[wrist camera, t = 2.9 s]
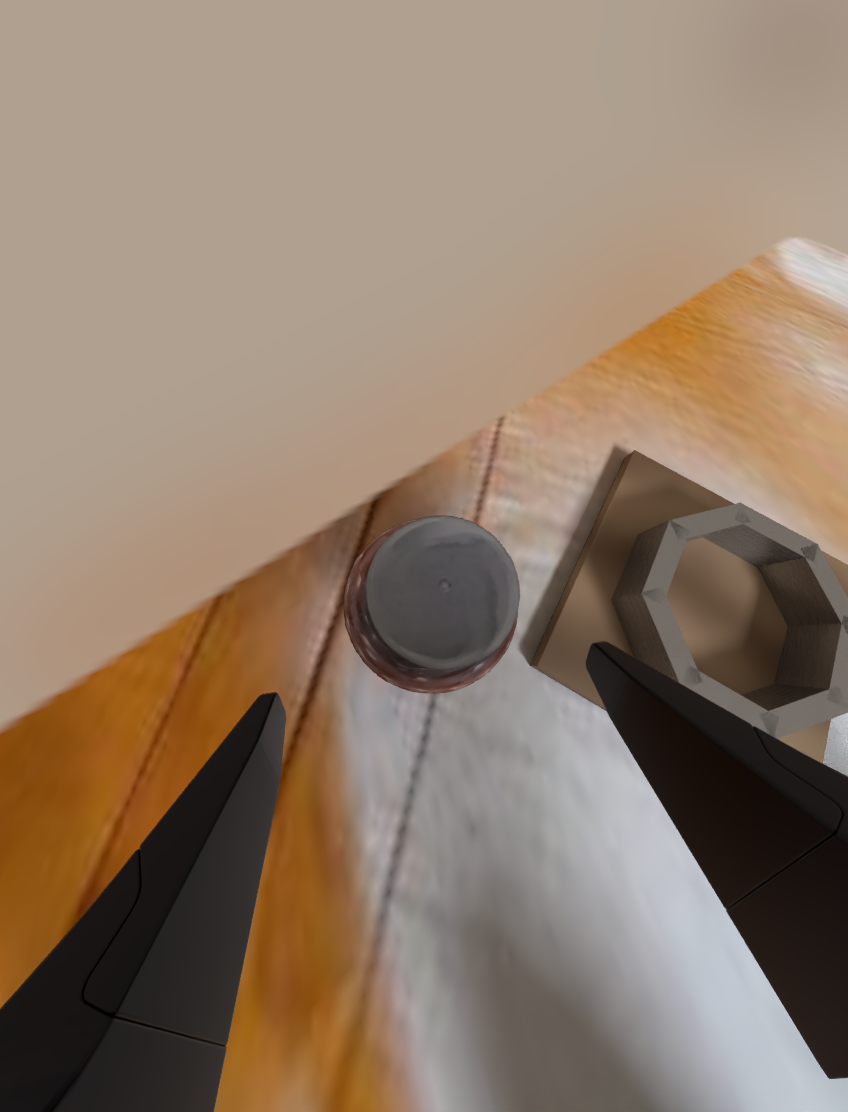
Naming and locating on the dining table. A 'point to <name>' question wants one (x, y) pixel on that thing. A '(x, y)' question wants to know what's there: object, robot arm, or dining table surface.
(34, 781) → the dining table surface
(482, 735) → the dining table surface
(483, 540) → the supplement bottle
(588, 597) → the stand
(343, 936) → the dining table surface
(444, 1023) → the dining table surface
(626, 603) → the ring
